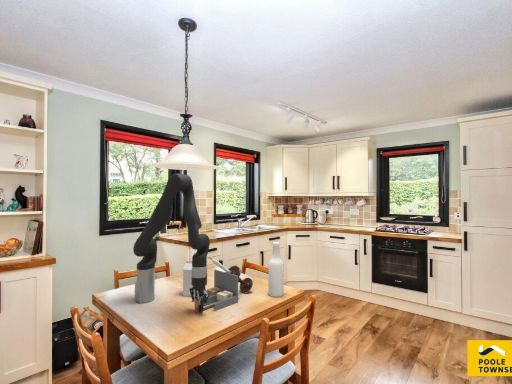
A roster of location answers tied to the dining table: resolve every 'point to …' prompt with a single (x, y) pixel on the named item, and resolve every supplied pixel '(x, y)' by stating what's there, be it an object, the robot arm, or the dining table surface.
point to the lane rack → (224, 283)
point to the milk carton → (187, 278)
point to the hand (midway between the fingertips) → (199, 310)
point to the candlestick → (245, 283)
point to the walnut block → (213, 291)
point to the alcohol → (276, 273)
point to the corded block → (220, 297)
